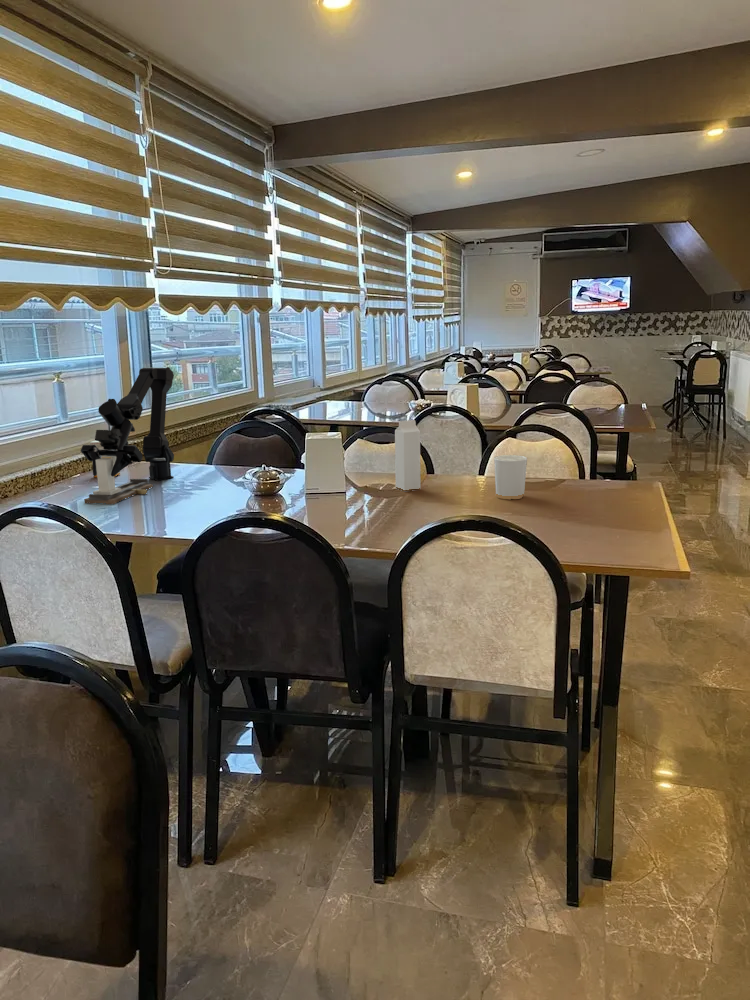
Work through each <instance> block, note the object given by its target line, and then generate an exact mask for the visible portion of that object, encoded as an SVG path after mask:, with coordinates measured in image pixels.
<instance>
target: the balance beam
mask: <svg viewBox="0 0 750 1000" xmlns="http://www.w3.org/2000/svg"><path fill="white" fill-rule="evenodd" d="M148 479H149V478H130V479H129V481H128V482H125V483H123V484H121V485H117V486H115V488H121V491H120V492H118V493H115V494H113V495H109V496H108V495H98V494H93V493H91V494H88V497H87V498H84V504H93V503H103V504H102V505H115V503H116V504H118V503H120V502H122V501H121V500H123V499H125V498H127V499H129V498H128V497H130V496H132V495H134V494H137V495H145V494H146V493H147V494H148V490H146V489H149V488H151V487H153V488H154V484H153V483H149V481H148ZM151 489H152V488H151ZM149 490H150V489H149ZM147 494H146V495H147ZM132 497H133V496H132ZM130 498H131V497H130ZM125 500H126V499H125ZM119 501H120V502H119ZM123 501H124V500H123ZM117 502H118V503H117ZM104 503H106V504H104Z"/></svg>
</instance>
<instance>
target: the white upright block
mask: <svg viewBox="0 0 750 1000" xmlns="http://www.w3.org/2000/svg"><path fill="white" fill-rule="evenodd" d="M112 469H113V459H112V458H100V459H97V460H96V470H97V477H96V478H97V489H96V490H93V491H92V494H98V495H108V496H109V495H113V494H115V493H118V492H120V491H121V488H115V487H116V481H115V477H114V476H113V477H112V476H111V472H112Z"/></svg>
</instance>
